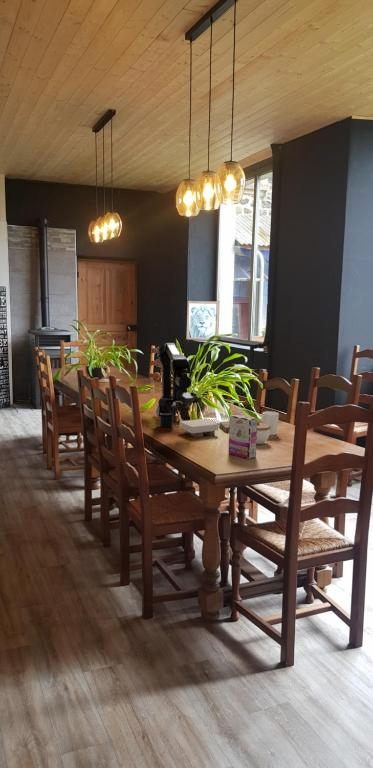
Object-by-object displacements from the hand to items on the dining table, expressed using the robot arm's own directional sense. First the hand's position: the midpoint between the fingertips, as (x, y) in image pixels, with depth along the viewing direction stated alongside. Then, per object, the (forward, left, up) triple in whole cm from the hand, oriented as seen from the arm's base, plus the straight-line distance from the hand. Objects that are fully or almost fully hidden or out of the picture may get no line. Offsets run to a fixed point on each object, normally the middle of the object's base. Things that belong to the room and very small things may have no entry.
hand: (178, 419), depth 261 cm
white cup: (+18, +41, -9) cm, 46 cm away
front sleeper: (0, +9, -9) cm, 13 cm away
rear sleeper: (0, +15, -9) cm, 17 cm away
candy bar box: (+38, +4, -9) cm, 39 cm away
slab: (0, +12, -6) cm, 13 cm away
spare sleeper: (0, +29, -9) cm, 30 cm away
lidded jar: (+26, +25, -9) cm, 37 cm away
